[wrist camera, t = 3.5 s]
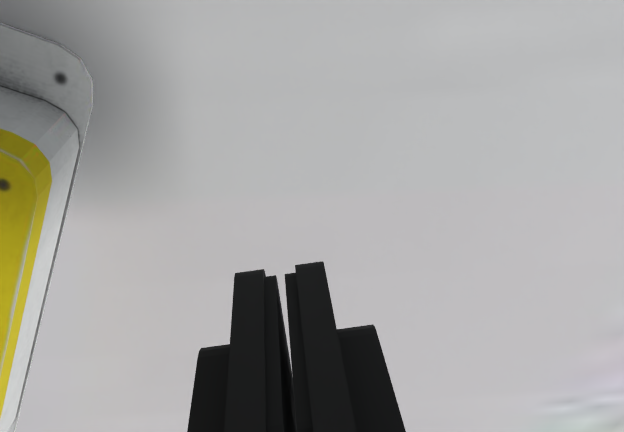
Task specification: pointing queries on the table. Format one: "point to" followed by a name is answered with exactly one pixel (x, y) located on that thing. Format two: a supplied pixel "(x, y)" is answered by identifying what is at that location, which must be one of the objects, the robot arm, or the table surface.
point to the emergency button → (33, 190)
